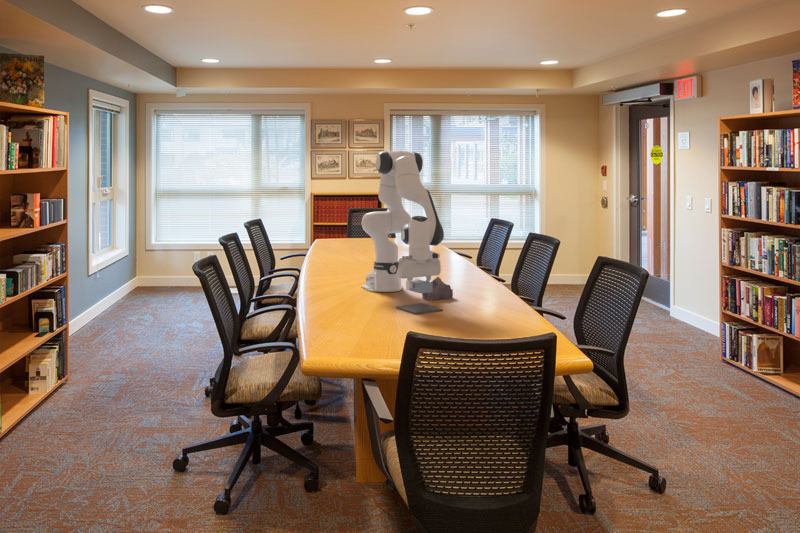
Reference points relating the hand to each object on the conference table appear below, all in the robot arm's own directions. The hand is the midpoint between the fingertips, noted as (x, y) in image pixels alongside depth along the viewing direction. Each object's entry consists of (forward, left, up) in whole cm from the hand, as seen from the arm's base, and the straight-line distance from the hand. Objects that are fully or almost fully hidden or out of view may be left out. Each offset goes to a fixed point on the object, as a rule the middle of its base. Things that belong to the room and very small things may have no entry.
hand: (419, 287), depth 291 cm
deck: (0, 0, -2) cm, 2 cm away
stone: (-16, +21, -10) cm, 28 cm away
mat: (0, 0, -10) cm, 10 cm away
